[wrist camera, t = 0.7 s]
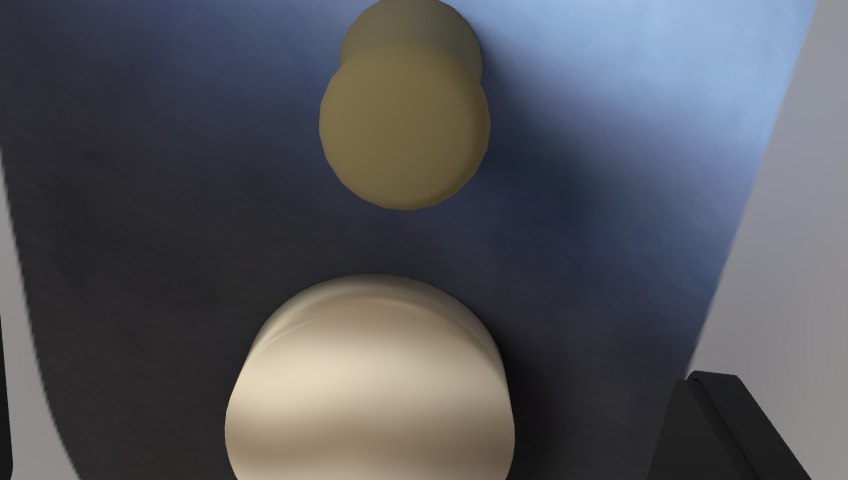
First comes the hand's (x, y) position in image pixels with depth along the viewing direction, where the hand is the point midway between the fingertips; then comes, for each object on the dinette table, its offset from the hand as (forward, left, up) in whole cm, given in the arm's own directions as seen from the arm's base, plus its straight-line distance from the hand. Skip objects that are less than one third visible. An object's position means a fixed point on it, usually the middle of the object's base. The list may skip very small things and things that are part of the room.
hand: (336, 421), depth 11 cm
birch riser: (+15, 0, -23) cm, 28 cm away
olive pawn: (-1, 0, -24) cm, 23 cm away
